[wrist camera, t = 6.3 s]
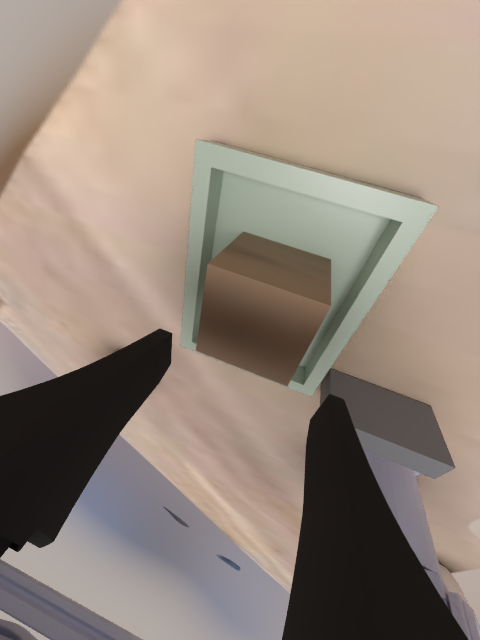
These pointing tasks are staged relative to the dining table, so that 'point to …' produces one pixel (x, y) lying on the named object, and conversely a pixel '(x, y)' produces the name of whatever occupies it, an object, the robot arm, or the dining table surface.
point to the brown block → (263, 306)
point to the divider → (392, 424)
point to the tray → (299, 237)
